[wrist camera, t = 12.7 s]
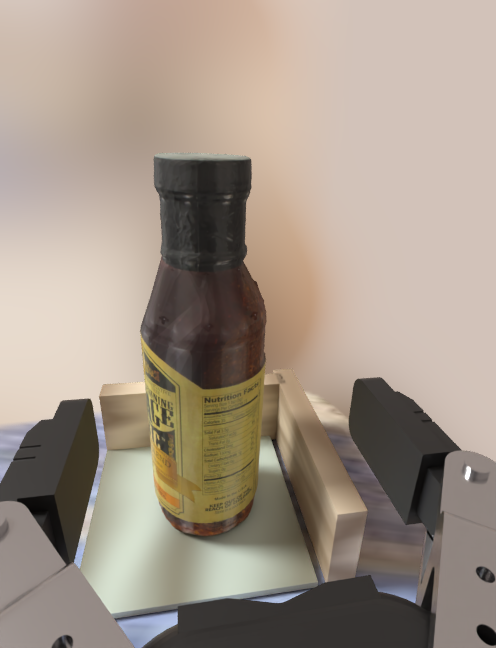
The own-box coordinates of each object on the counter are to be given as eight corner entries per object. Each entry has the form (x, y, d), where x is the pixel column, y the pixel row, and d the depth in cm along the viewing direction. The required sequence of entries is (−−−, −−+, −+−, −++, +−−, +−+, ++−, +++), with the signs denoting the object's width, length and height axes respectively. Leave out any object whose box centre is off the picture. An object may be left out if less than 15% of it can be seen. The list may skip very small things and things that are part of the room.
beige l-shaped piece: (69, 625, 18) (51, 550, 17) (111, 436, 31) (104, 380, 29) (354, 581, 21) (367, 510, 19) (288, 421, 33) (292, 368, 31)
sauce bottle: (158, 469, 27) (131, 151, 19) (248, 459, 28) (257, 154, 20) (154, 558, 21) (113, 151, 13) (268, 542, 22) (293, 155, 14)
